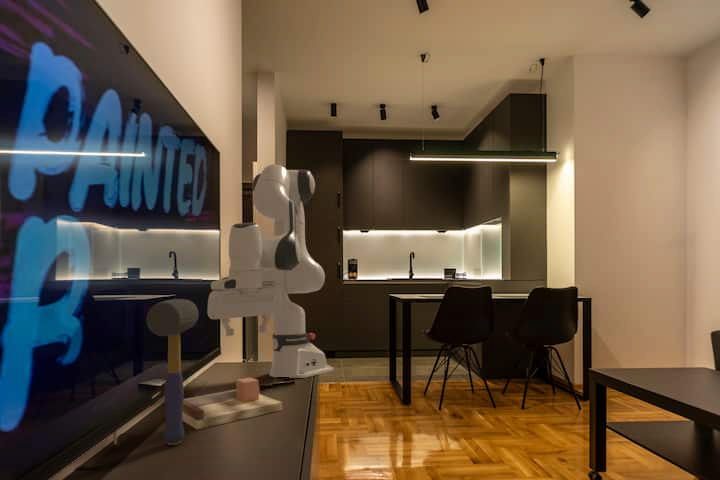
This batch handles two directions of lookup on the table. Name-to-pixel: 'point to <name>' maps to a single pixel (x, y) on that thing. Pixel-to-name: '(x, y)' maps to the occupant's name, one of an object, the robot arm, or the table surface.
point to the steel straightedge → (212, 398)
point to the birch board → (227, 411)
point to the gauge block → (247, 389)
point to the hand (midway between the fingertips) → (246, 333)
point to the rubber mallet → (173, 357)
